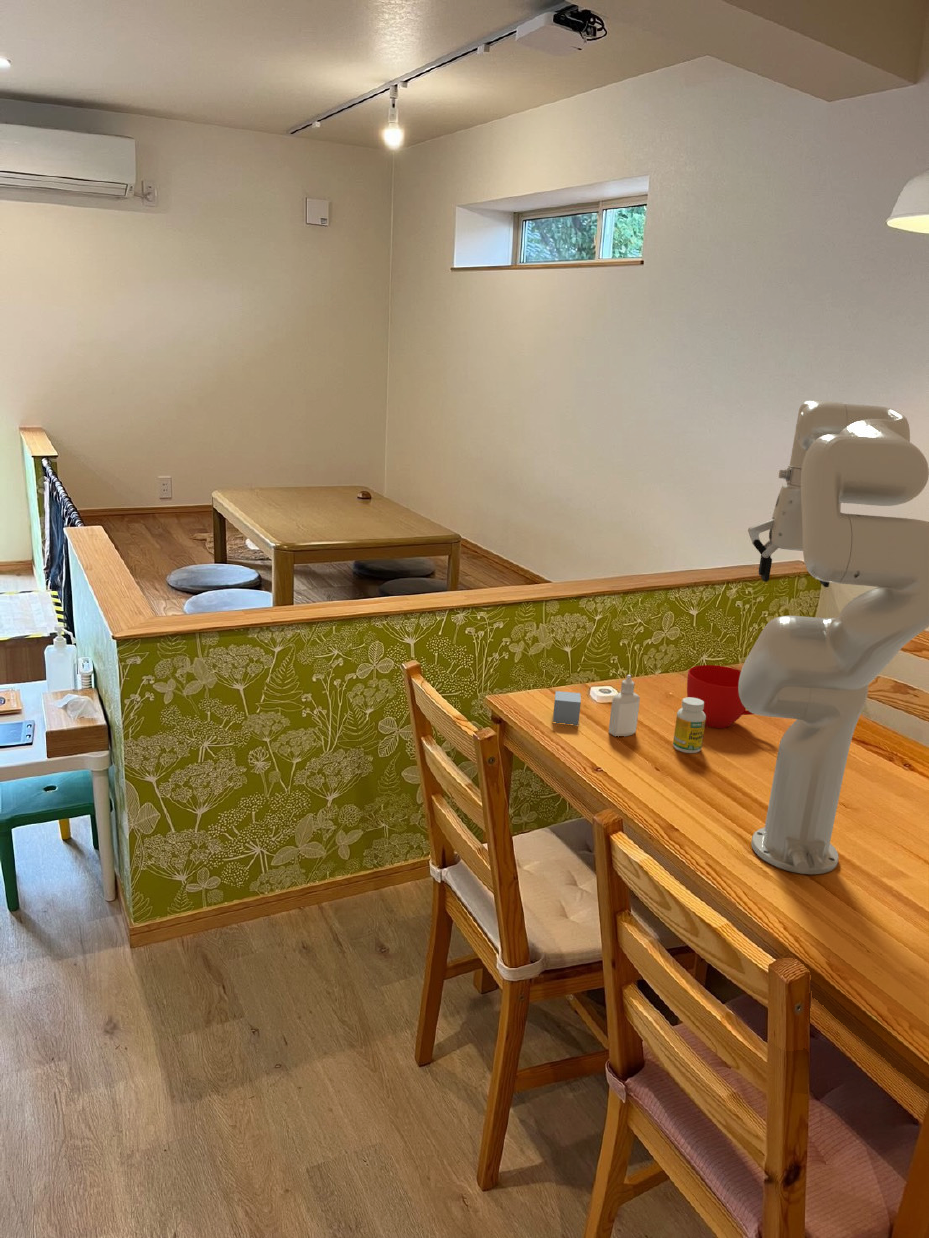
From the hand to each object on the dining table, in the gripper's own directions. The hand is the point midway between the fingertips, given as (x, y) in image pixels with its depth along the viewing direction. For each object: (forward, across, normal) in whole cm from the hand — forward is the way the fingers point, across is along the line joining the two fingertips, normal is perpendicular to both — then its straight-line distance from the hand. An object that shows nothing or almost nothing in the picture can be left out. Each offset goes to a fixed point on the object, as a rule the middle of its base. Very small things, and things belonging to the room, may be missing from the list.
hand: (794, 582), depth 158 cm
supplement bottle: (+37, -12, +11) cm, 40 cm away
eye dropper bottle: (+37, -24, +15) cm, 46 cm away
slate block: (+37, -35, +19) cm, 54 cm away
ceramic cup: (+37, -3, +25) cm, 45 cm away
